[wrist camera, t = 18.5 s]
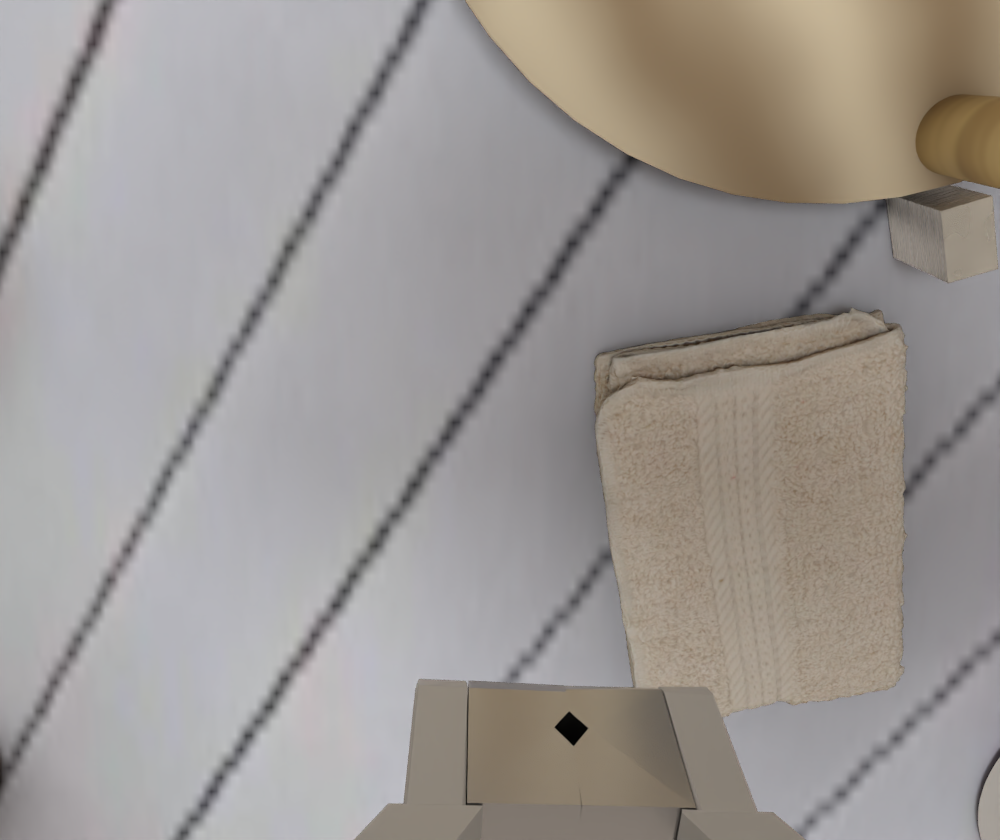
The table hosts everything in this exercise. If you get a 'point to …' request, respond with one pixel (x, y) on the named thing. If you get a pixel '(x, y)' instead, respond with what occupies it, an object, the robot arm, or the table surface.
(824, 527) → the washcloth
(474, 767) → the robot arm
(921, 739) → the table surface
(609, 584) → the table surface
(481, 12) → the turntable
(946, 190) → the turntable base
